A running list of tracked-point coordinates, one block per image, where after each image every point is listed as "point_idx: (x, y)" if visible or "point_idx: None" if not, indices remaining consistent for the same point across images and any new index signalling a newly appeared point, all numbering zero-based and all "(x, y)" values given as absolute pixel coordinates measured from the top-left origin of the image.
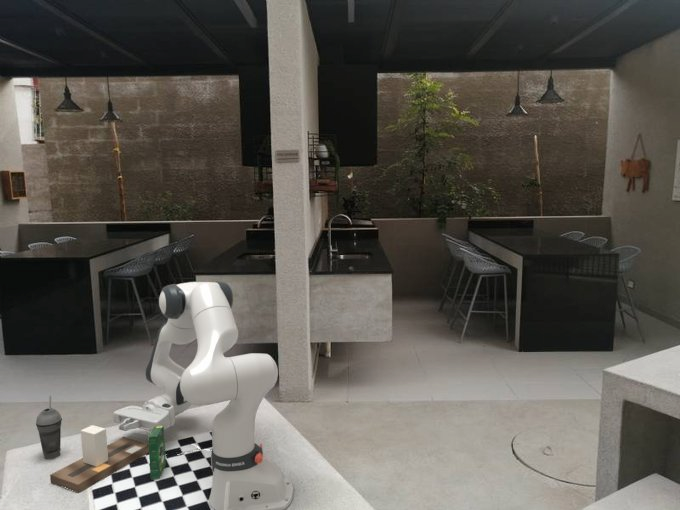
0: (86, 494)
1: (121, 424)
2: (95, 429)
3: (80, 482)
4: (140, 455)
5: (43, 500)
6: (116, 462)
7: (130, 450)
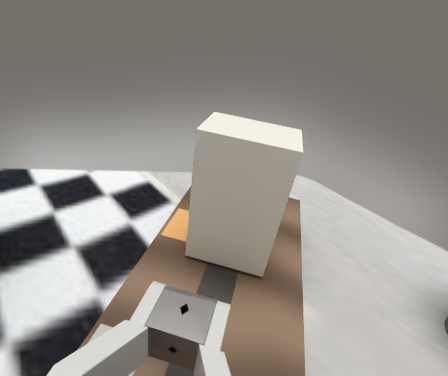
0: (175, 190)
1: (207, 304)
2: (244, 129)
3: None
4: None
5: None
6: (147, 252)
7: None
